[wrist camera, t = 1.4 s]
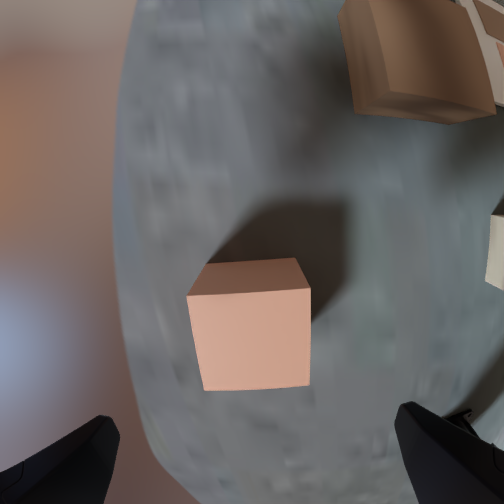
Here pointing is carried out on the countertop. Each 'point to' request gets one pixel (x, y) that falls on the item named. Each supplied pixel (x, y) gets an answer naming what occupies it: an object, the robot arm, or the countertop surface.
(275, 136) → the countertop surface
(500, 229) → the ash cube
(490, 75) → the card
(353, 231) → the countertop surface
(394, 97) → the walnut block
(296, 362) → the terracotta cube
